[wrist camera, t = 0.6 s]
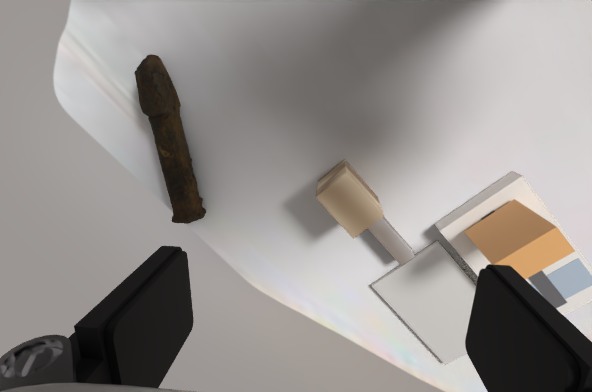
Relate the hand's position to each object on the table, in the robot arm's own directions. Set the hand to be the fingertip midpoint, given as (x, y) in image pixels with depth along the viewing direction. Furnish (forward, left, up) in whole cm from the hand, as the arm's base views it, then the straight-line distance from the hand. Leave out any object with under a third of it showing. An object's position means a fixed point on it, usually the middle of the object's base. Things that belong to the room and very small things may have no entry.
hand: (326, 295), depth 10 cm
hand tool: (+14, -13, -29) cm, 35 cm away
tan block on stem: (+2, +9, -29) cm, 30 cm away
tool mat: (+3, +25, -29) cm, 38 cm away
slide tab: (-8, +18, -26) cm, 33 cm away
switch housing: (-8, +24, -29) cm, 38 cm away
